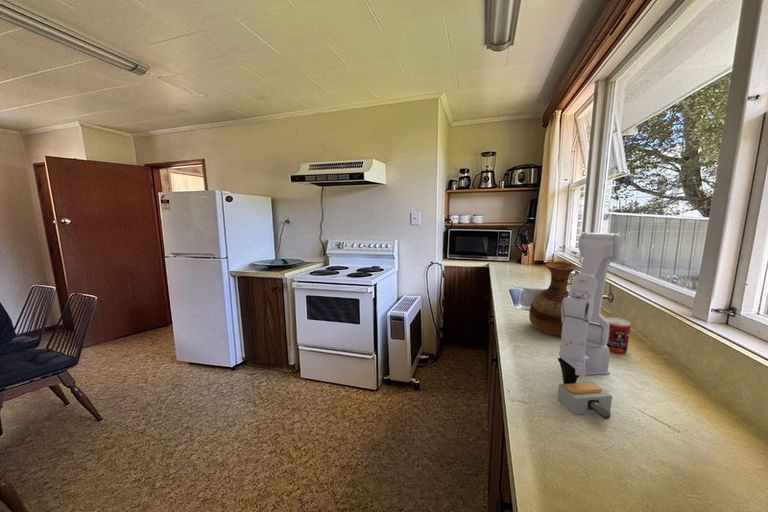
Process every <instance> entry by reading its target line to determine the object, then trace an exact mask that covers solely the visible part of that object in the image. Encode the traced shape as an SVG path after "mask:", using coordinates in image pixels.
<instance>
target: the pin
mask: <svg viewBox="0 0 768 512" xmlns="http://www.w3.org/2000/svg"><path fill="white" fill-rule="evenodd" d="M588 406H589V407H590V408H591V409H592V410H594V411H595V412H596V413H595V414H598V416H600V417H601V418H602V419H603V420H604V421H605V420H606V421H607V420H609V419H611V415H612V414H611V412H608V411H607V410H605V409H604V408H603V407H601V406H600V405H599V404H598V403H596V402H595V401H594V400H588Z"/></svg>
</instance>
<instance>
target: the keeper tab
mask: <svg viewBox="0 0 768 512" xmlns="http://www.w3.org/2000/svg"><path fill="white" fill-rule="evenodd" d="M594 383H595V382H594ZM594 383H588V384H568V385H567V390H568V391H570V392H573V393H589V392H601V390H602V389H603V388H602V387H601V388H602V389H601V388H599V387H600V386H599V385H598V384H597V385H598V386H599V387H598V386H597V385H595V384H596V383H595V384H594Z"/></svg>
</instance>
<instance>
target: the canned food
mask: <svg viewBox="0 0 768 512" xmlns="http://www.w3.org/2000/svg"><path fill="white" fill-rule="evenodd" d="M605 318H606V319H607V320H608V321H609V324H610V327H609V330H610V331H609V339H608V342H607V346H608V348H609V351H610V354H611V353H612V354H617V355H624V354H626V353H627V351H628V345H629V340H630V339H629V338H630V332H631V322H630V321H628V320H626V319H622V318H618V317H611V316H610V317H605Z"/></svg>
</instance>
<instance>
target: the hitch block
mask: <svg viewBox="0 0 768 512" xmlns="http://www.w3.org/2000/svg"><path fill="white" fill-rule="evenodd" d="M588 383H594V384H595V385H597V386H598V387H599V388H601V389H602V390H601V392H589V393H573V392H570V391H568V390H567V385H568V384H564V383H559V384H558V390H557V399H556V400H557V401H558V402H559V403H560V404H561V405H562V406H563V407H564V406H565V407H564V408H565V409H567V410H568V411H569V412H570V413H571V415H573V416H579V415H580V416H581V415H591V414H592V415H593V414H597V413H596V412H595V411H594V410H592V409H591V408H590V407H589V406H588V400H594V401H595V402H596V403H598V404H599V405H600V406H601V407H603V408H604V409H605V410H607V411H608V412H609V413H611V410H612V409H611V408H612V401H613V395H612V394H610V393H609V392H608V391H607V390H605V389H604V388H602V387H601V386H599V385H598V384H597V383H595V381H587V382H576V383H571V384H588Z"/></svg>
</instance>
